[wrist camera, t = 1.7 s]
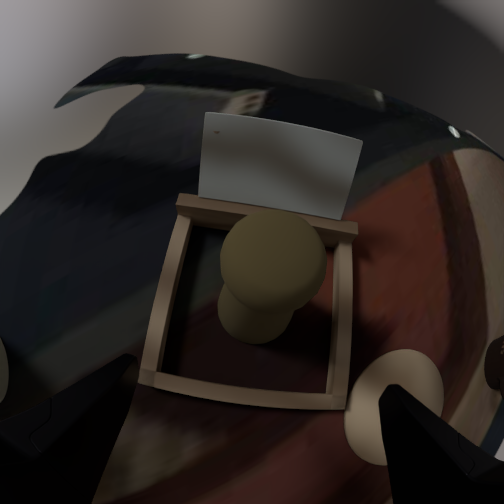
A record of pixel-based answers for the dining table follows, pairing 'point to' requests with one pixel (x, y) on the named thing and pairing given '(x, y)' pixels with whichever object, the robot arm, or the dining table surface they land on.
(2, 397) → the reusable coffee cup
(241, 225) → the pepper shaker
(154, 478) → the dining table surface
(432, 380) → the disc
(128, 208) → the dining table surface
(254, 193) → the cold frame
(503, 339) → the coffee mug
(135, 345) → the dining table surface
